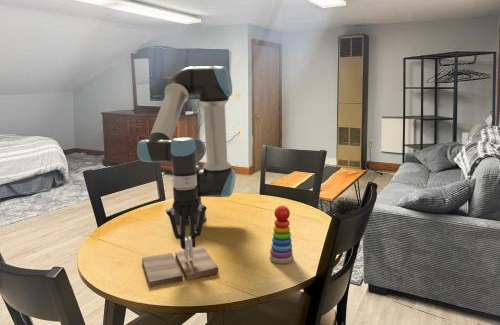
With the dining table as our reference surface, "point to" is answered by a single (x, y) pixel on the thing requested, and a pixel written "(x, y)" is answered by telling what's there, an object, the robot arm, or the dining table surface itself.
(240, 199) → the dining table surface
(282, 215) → the stacking toy
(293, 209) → the dining table surface
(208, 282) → the dining table surface
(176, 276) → the panel
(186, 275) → the plank
